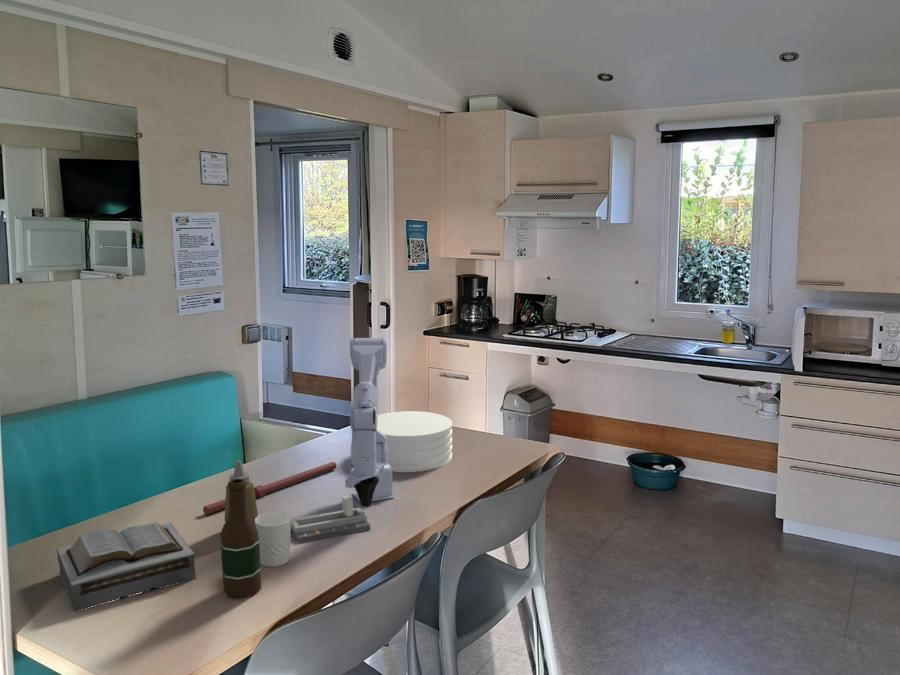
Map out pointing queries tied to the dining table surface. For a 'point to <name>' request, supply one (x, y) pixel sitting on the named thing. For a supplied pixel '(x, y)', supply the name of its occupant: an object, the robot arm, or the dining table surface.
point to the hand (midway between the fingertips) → (365, 505)
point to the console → (328, 525)
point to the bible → (123, 563)
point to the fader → (347, 507)
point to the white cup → (274, 538)
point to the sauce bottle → (240, 547)
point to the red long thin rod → (275, 485)
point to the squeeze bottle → (249, 490)
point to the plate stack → (416, 440)
